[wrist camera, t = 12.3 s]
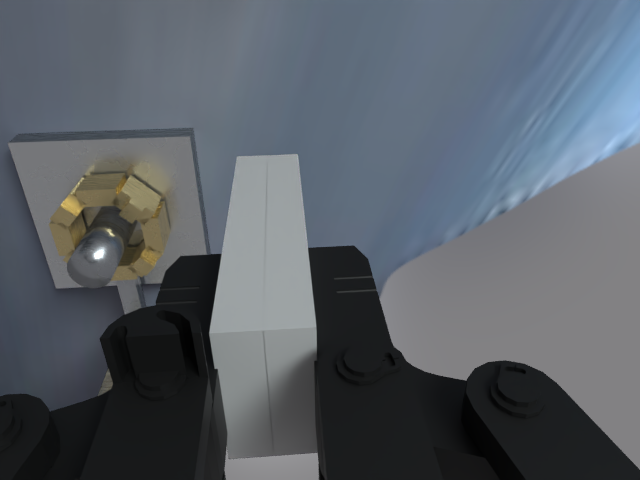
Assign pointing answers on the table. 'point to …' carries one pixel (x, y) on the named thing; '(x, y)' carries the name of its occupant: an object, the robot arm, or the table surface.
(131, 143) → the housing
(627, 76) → the table surface
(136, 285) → the ring nut
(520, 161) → the table surface
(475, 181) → the table surface
